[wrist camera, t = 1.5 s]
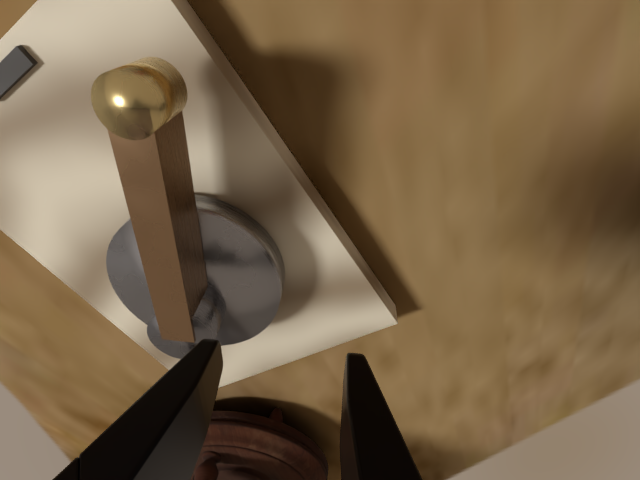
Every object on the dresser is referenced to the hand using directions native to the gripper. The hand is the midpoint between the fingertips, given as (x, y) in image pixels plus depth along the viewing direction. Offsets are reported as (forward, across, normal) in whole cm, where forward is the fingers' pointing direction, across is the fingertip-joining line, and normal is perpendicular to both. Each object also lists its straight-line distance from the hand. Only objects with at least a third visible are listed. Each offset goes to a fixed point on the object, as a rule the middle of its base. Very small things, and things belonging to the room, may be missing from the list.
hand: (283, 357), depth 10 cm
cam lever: (+10, +6, +3) cm, 12 cm away
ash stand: (+12, +8, +5) cm, 15 cm away
